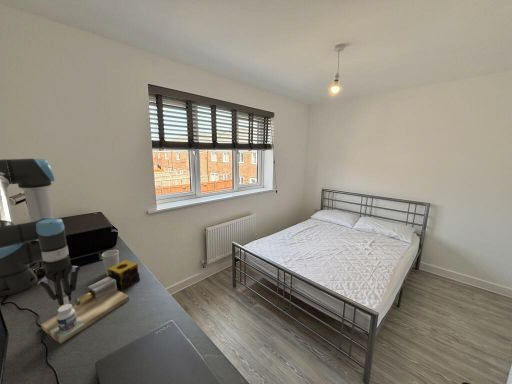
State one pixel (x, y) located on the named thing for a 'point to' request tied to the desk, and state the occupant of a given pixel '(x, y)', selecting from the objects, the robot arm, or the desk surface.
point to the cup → (110, 259)
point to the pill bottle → (66, 318)
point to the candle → (124, 274)
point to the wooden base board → (89, 309)
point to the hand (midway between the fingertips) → (66, 309)
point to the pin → (84, 298)
